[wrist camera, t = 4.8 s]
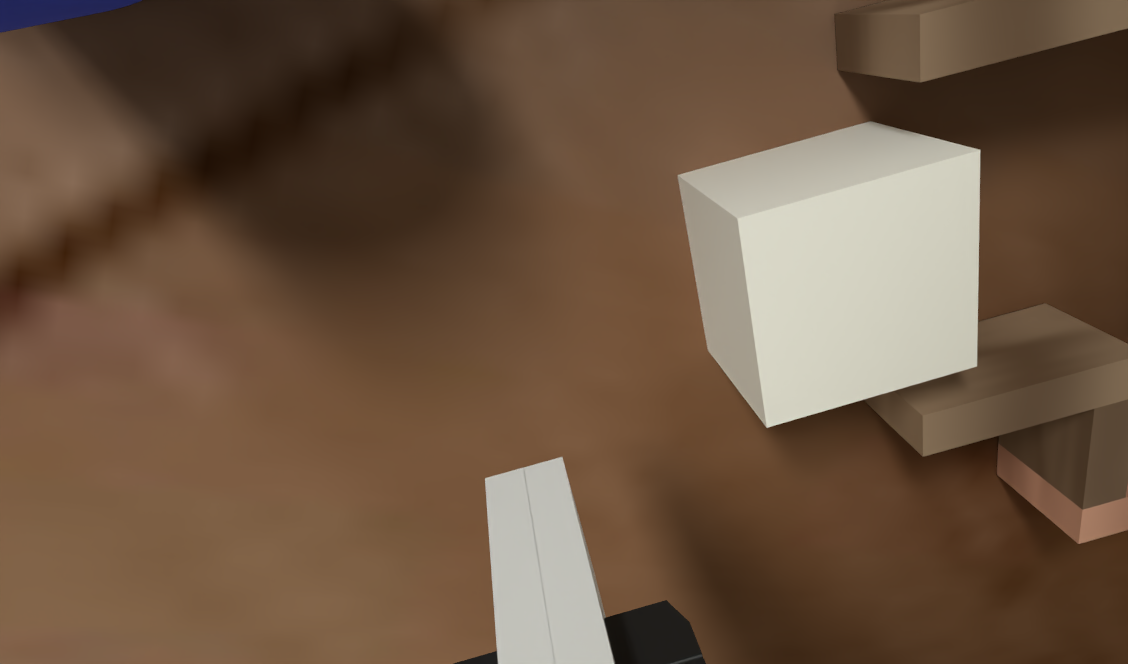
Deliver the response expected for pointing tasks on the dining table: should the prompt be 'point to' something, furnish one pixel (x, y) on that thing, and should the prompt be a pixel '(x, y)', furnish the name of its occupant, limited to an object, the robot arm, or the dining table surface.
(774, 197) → the block
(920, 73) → the wooden bar frame
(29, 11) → the mug
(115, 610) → the dining table surface
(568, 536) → the robot arm
